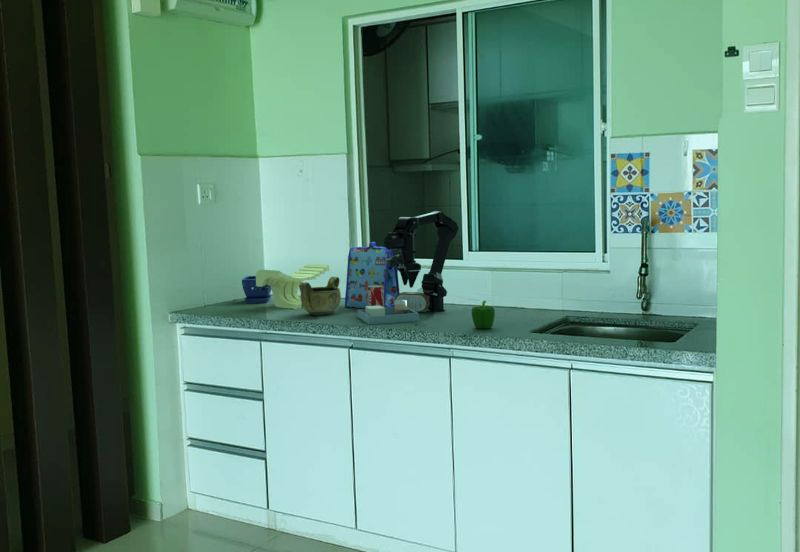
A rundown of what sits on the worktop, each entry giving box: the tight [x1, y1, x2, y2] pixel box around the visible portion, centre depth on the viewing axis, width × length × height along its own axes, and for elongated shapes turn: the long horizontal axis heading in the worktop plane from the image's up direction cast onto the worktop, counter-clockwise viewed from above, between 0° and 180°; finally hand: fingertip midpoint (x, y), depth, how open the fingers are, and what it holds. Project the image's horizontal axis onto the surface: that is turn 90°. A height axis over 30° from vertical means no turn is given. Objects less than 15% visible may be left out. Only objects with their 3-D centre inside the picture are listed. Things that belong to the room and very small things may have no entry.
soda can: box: [367, 285, 384, 307], centre depth 342 cm, size 7×7×12 cm
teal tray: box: [356, 307, 420, 325], centre depth 327 cm, size 20×20×4 cm
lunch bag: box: [344, 241, 401, 309], centre depth 364 cm, size 22×14×29 cm, turn 58°
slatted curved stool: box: [255, 263, 330, 310], centre depth 375 cm, size 30×16×18 cm, turn 139°
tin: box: [395, 291, 430, 313], centre depth 347 cm, size 15×3×8 cm, turn 69°
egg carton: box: [364, 305, 385, 316], centre depth 326 cm, size 6×8×5 cm
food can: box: [394, 300, 408, 315], centre depth 328 cm, size 5×5×7 cm
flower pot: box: [241, 275, 272, 304], centre depth 393 cm, size 13×13×12 cm
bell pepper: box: [471, 300, 496, 330], centre depth 302 cm, size 8×8×10 cm
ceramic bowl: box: [298, 276, 342, 317], centre depth 346 cm, size 22×17×15 cm
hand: (408, 286), depth 337 cm, fingers open, 9 cm apart
